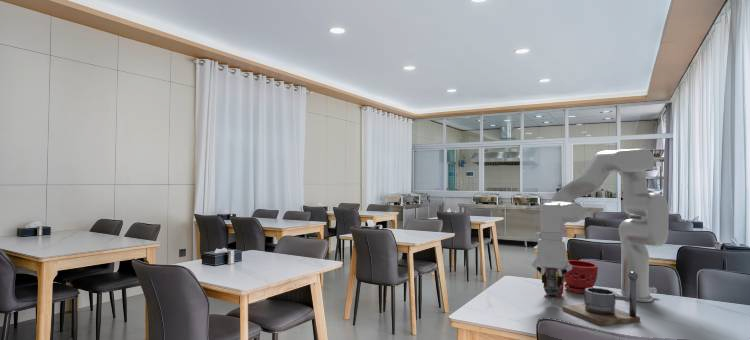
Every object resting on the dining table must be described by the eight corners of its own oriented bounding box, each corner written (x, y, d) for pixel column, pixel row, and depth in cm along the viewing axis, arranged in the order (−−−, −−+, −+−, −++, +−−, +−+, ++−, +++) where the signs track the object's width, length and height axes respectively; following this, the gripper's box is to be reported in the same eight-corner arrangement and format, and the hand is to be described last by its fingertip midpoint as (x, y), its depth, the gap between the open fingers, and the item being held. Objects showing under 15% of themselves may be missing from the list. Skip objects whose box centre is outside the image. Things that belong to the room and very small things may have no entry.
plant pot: (559, 291, 181) (559, 263, 181) (567, 285, 192) (567, 258, 192) (593, 297, 173) (594, 267, 173) (600, 290, 184) (600, 262, 184)
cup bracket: (599, 306, 161) (599, 262, 161) (640, 321, 145) (640, 272, 145) (562, 310, 156) (562, 264, 156) (600, 326, 140) (600, 274, 140)
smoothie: (566, 295, 176) (567, 246, 176) (563, 299, 169) (563, 248, 169) (545, 291, 180) (545, 244, 181) (540, 296, 173) (541, 246, 174)
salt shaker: (562, 299, 156) (561, 266, 156) (544, 299, 158) (544, 266, 158) (558, 295, 162) (558, 263, 162) (542, 294, 163) (541, 262, 163)
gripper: (526, 236, 160) (526, 285, 160) (575, 239, 153) (576, 291, 153) (528, 233, 167) (529, 281, 167) (576, 236, 160) (577, 285, 159)
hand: (551, 285), depth 160 cm, fingers closed on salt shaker, 4 cm apart
